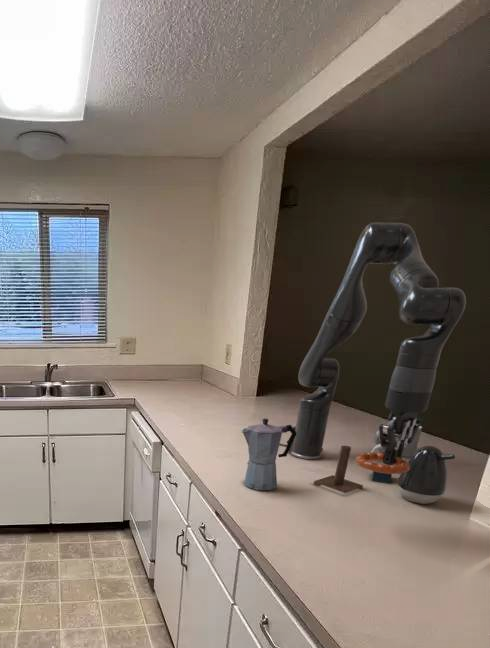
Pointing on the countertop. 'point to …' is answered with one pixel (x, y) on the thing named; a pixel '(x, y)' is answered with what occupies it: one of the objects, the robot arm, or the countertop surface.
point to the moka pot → (264, 453)
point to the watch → (377, 475)
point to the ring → (398, 467)
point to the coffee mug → (409, 449)
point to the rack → (340, 475)
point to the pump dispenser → (425, 476)
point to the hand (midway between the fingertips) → (391, 462)
